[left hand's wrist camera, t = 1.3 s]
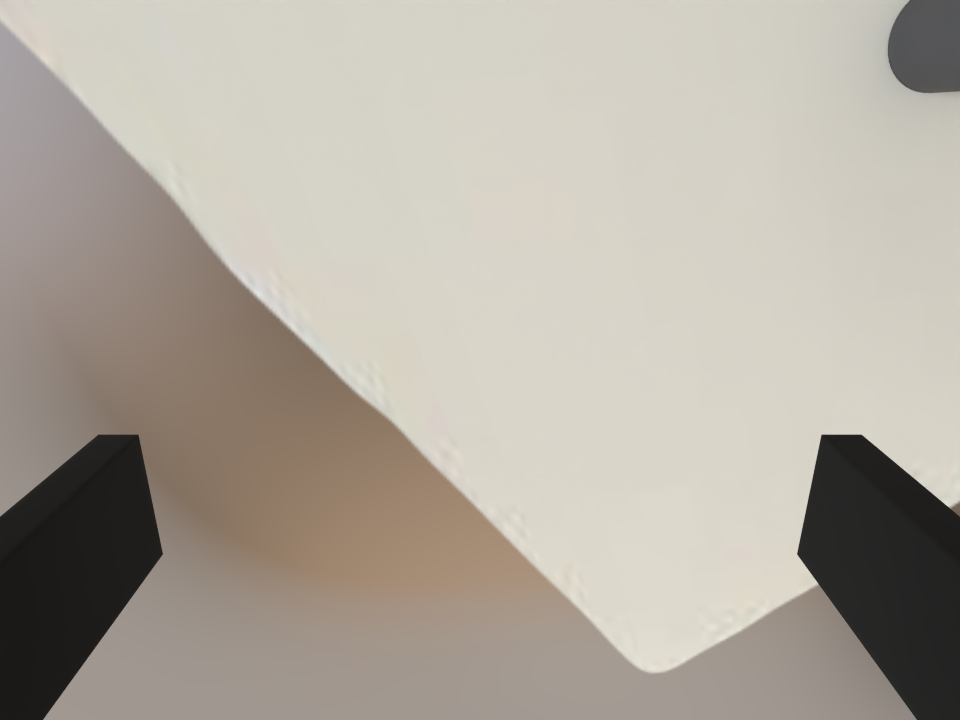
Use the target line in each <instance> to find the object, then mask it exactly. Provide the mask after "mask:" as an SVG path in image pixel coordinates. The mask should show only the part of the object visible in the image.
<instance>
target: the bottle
mask: <svg viewBox="0 0 960 720" xmlns="http://www.w3.org/2000/svg"><path fill="white" fill-rule="evenodd" d="M888 57H889V63H890V66H891V69H892V71H893V73H894V75H895V76H896V78H897V79H898V80H899V81H900V82H901V83H902V84H903V85H905V86H906V87H908V88H909V89H911V90H914V91H917V92H923V93H934V92H953V91H960V0H910V1H909V2H908V3H907V4H906V5H905V7H904V8H903V9H902V11H901V12H900V14H899V15H898V17H897V19H896V21H895V23H894V25H893V27H892V30H891V33H890V38H889V44H888Z"/></svg>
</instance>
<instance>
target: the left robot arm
mask: <svg viewBox="0 0 960 720" xmlns="http://www.w3.org/2000/svg"><path fill="white" fill-rule="evenodd" d="M162 555H163V553H162V548H161V543H160V538H159V533H158V528H157V523H156V519H155V514H154V509H153V504H152V499H151V494H150V489H149V484H148V480H147V475H146V470H145V465H144V460H143V455H142V450H141V445H140V440H139V436H138V435H98V436H96V437H95V438H94V439H93V440H92V441H90V442H89V443H88V444H87V445H86V446H84V447H83V448H82V449H81V450H80V451H78V452H77V453H76V454H75V455H74V456H72V457H71V458H70V459H69V460H68V461H66V462H65V463H64V464H63V465H62V466H60V467H59V468H58V469H57V470H56V471H54V472H53V473H52V474H51V475H50V476H48V477H47V478H46V479H45V480H44V481H42V482H41V483H40V484H39V485H38V486H36V487H35V488H34V489H33V490H32V491H30V492H29V493H28V494H27V495H26V496H25V497H23V498H22V499H21V500H20V501H18V502H17V503H16V504H15V505H14V506H12V507H11V508H10V509H9V510H8V511H7V512H5V513H4V514H3V515H2V516H1V517H0V720H43V719H44V718H45V716H46V715H47V713H48V712H49V711H50V709H51V708H52V706H53V705H54V704H55V702H56V701H57V700H58V698H59V697H60V695H61V694H62V693H63V691H64V690H65V689H66V687H67V686H68V684H69V683H70V682H71V680H72V679H73V678H74V676H75V675H76V673H77V672H78V671H79V669H80V668H81V666H82V665H83V664H84V662H85V661H86V660H87V658H88V657H89V655H90V654H91V653H92V651H93V650H94V649H95V647H96V646H97V644H98V643H99V642H100V640H101V639H102V637H103V636H104V635H105V633H106V632H107V631H108V629H109V628H110V626H111V625H112V624H113V622H114V621H115V620H116V618H117V617H118V615H119V614H120V613H121V611H122V610H123V608H124V607H125V606H126V604H127V603H128V602H129V600H130V599H131V597H132V596H133V595H134V593H135V592H136V591H137V589H138V588H139V586H140V585H141V584H142V582H143V581H144V579H145V578H146V577H147V575H148V574H149V572H150V571H151V570H152V568H153V567H154V566H155V564H156V563H157V561H158V560H159V559H160V557H161V556H162ZM797 555H798V556H799V557H800V559H801V560H802V562H803V563H804V564H805V566H806V567H807V568H808V570H809V571H810V573H811V574H812V575H813V577H814V578H815V579H816V581H817V582H818V584H819V585H820V586H821V588H822V589H823V591H824V592H825V593H826V595H827V596H828V597H829V599H830V600H831V602H832V603H833V604H834V606H835V607H836V608H837V610H838V611H839V613H840V614H841V615H842V617H843V618H844V620H845V621H846V622H847V624H848V625H849V626H850V628H851V629H852V631H853V632H854V633H855V635H856V636H857V637H858V639H859V640H860V642H861V643H862V644H863V646H864V647H865V649H866V650H867V651H868V653H869V654H870V655H871V657H872V658H873V660H874V661H875V662H876V664H877V665H878V666H879V668H880V669H881V671H882V672H883V673H884V675H885V676H886V678H887V679H888V680H889V682H890V683H891V684H892V686H893V687H894V689H895V690H896V691H897V693H898V694H899V695H900V697H901V698H902V700H903V701H904V702H905V704H906V705H907V706H908V708H909V709H910V711H911V712H912V713H913V715H914V716H915V718H916V719H917V720H960V517H959V516H958V515H957V514H956V513H955V512H953V511H952V510H951V509H950V508H949V507H948V506H946V505H945V504H944V503H943V502H942V501H940V500H939V499H938V498H937V497H936V496H934V495H933V494H932V493H931V492H930V491H928V490H927V489H926V488H925V487H924V486H922V485H921V484H920V483H919V482H918V481H916V480H915V479H914V478H913V477H912V476H910V475H909V474H908V473H907V472H906V471H904V470H903V469H902V468H901V467H900V466H898V465H897V464H896V463H895V462H894V461H892V460H891V459H890V458H889V457H888V456H886V455H885V454H884V453H883V452H882V451H880V450H879V449H878V448H877V447H876V446H874V445H873V444H872V443H871V442H870V441H868V440H867V439H866V438H865V437H864V436H862V435H822V436H821V440H820V445H819V450H818V455H817V460H816V465H815V470H814V475H813V479H812V484H811V489H810V494H809V499H808V504H807V509H806V514H805V519H804V523H803V528H802V533H801V538H800V543H799V548H798V553H797Z"/></svg>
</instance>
